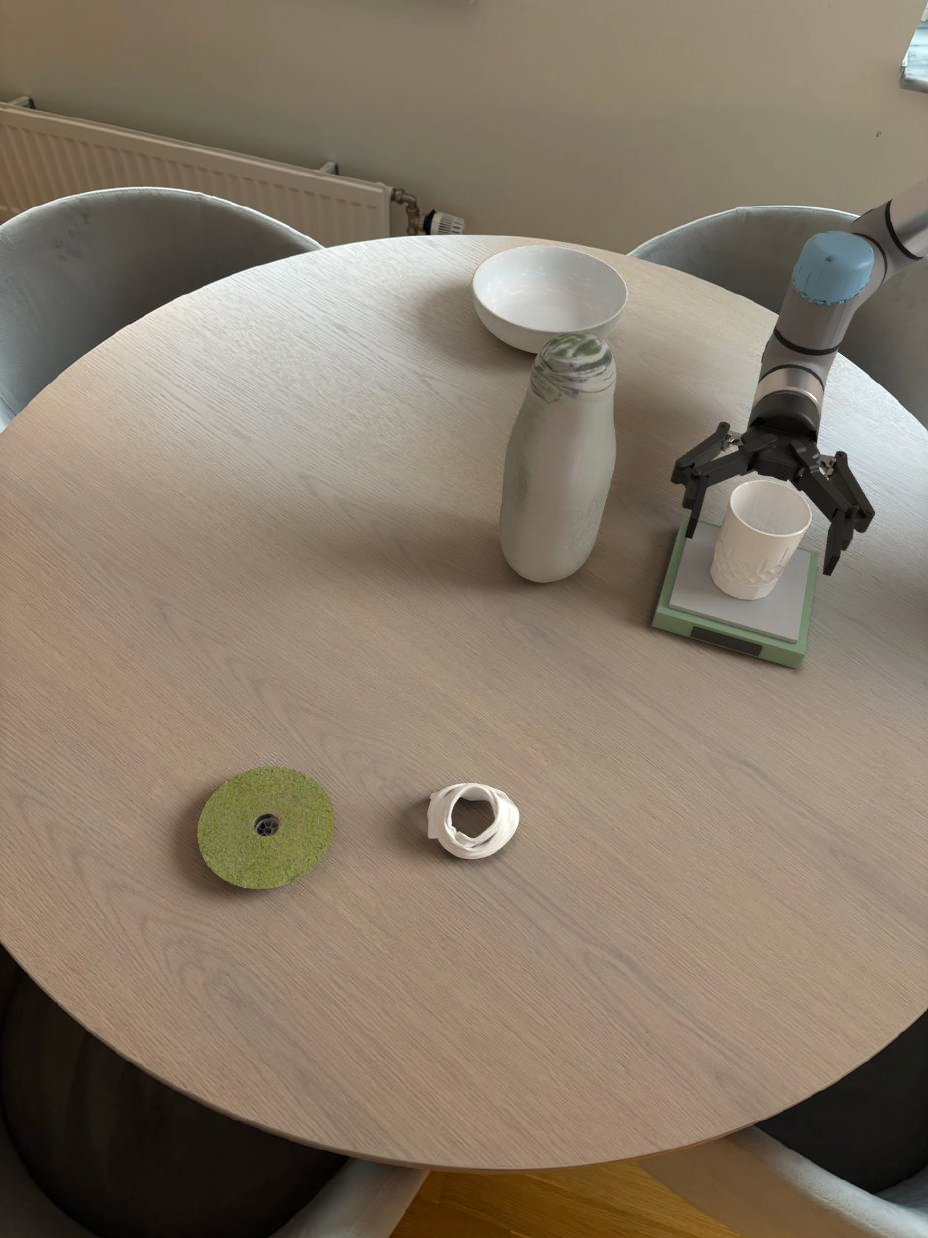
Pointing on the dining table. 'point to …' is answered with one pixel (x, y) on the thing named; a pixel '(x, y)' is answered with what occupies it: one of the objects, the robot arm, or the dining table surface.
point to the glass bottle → (559, 459)
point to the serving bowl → (547, 295)
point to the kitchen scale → (736, 602)
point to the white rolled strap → (459, 842)
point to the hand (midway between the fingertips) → (760, 547)
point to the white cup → (758, 538)
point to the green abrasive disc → (265, 827)
